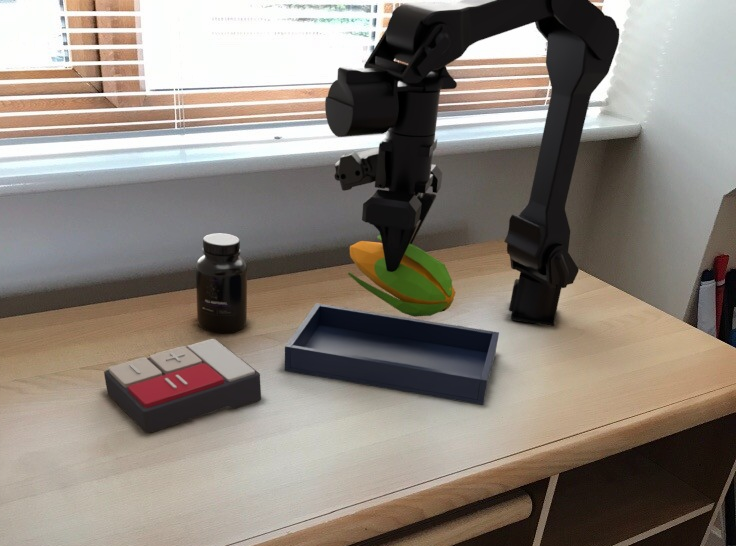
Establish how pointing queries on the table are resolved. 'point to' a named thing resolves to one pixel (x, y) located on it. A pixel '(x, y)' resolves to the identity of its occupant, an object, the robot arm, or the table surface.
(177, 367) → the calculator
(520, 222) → the robot arm
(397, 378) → the tray
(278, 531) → the table surface
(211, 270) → the supplement bottle
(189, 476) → the table surface
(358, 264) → the corn
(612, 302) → the table surface
